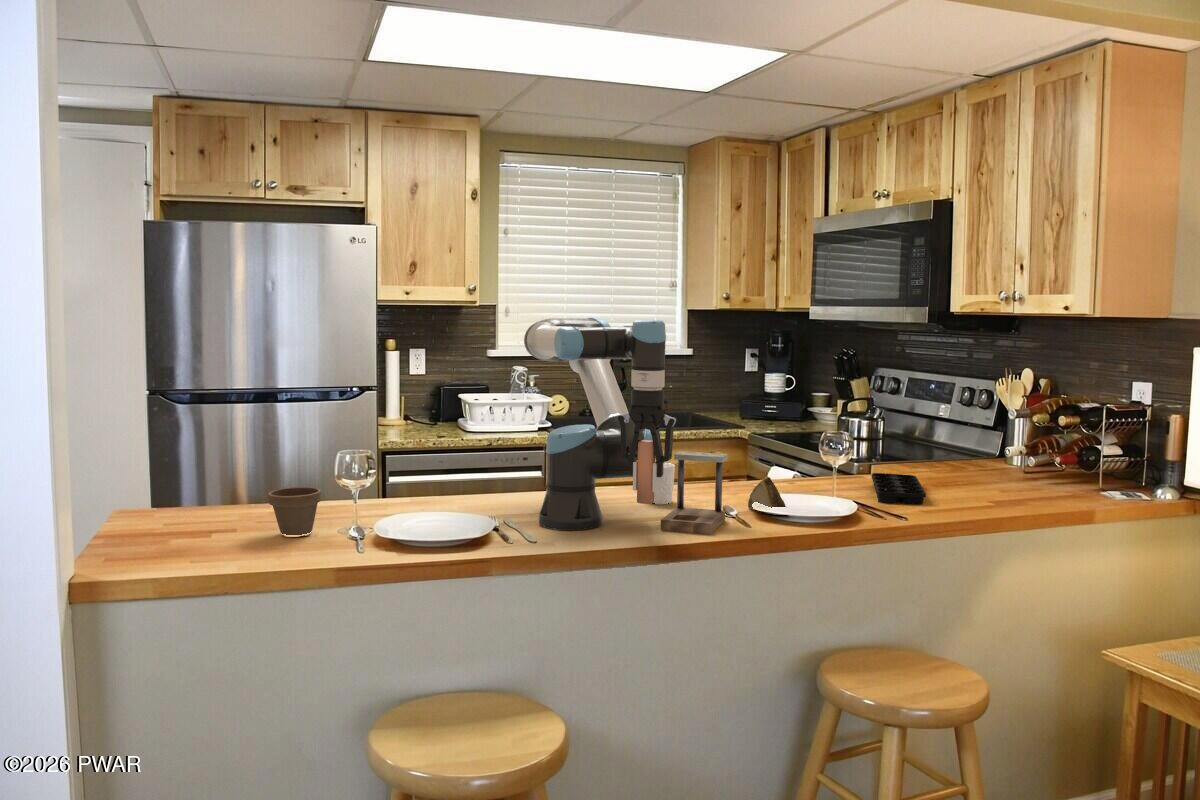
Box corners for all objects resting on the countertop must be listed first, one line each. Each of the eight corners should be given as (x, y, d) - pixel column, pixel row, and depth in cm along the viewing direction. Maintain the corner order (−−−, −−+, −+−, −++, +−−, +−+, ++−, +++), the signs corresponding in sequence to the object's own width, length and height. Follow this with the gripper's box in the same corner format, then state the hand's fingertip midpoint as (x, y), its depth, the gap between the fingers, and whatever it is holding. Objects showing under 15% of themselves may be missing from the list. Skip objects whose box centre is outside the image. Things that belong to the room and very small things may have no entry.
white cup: (674, 499, 268) (675, 462, 267) (673, 505, 261) (674, 467, 260) (645, 498, 269) (645, 462, 268) (643, 504, 261) (644, 467, 260)
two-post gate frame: (673, 510, 243) (674, 454, 242) (678, 506, 248) (679, 451, 247) (721, 514, 239) (722, 457, 238) (725, 509, 244) (727, 454, 243)
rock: (736, 499, 258) (747, 502, 248) (755, 472, 258) (767, 474, 249) (769, 524, 259) (781, 528, 249) (787, 497, 259) (800, 500, 250)
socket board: (660, 530, 233) (660, 519, 233) (677, 516, 247) (677, 506, 247) (711, 534, 229) (711, 523, 229) (724, 520, 243) (725, 510, 243)
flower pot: (258, 535, 225) (257, 491, 224) (302, 526, 234) (301, 484, 233) (287, 543, 218) (286, 498, 217) (332, 534, 226) (331, 490, 225)
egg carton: (911, 485, 293) (912, 473, 293) (947, 507, 264) (947, 493, 263) (851, 485, 293) (852, 472, 293) (880, 506, 264) (881, 492, 263)
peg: (634, 503, 227) (635, 442, 226) (639, 499, 231) (640, 439, 229) (651, 504, 226) (652, 443, 224) (656, 500, 230) (657, 440, 228)
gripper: (606, 388, 225) (605, 490, 227) (680, 392, 219) (677, 496, 222) (617, 385, 232) (615, 484, 234) (688, 388, 226) (686, 490, 229)
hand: (645, 489), depth 228 cm, fingers closed on peg, 4 cm apart
